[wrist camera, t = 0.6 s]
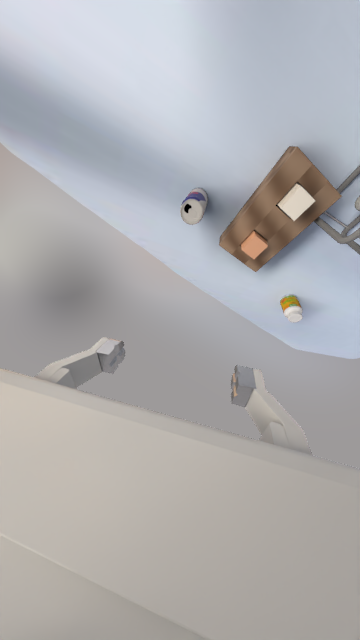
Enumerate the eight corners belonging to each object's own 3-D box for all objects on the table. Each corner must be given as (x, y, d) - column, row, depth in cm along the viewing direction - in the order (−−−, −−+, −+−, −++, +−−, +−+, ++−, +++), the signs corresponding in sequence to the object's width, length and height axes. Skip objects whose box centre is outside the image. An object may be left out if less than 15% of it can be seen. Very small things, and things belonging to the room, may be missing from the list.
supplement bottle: (293, 291, 58) (302, 310, 52) (298, 301, 61) (307, 320, 54) (277, 298, 61) (283, 316, 55) (282, 307, 64) (289, 325, 57)
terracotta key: (253, 229, 42) (255, 235, 40) (265, 239, 44) (268, 245, 41) (240, 243, 46) (241, 250, 43) (252, 252, 47) (254, 259, 44)
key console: (289, 146, 35) (297, 146, 31) (329, 190, 38) (341, 196, 34) (219, 237, 50) (219, 245, 46) (253, 262, 54) (255, 272, 50)
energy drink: (196, 182, 42) (188, 191, 34) (212, 197, 43) (208, 209, 35) (184, 202, 45) (175, 215, 37) (199, 215, 47) (193, 230, 39)
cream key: (295, 182, 35) (301, 186, 32) (308, 196, 36) (315, 200, 33) (276, 203, 38) (280, 208, 35) (289, 215, 39) (294, 221, 36)
